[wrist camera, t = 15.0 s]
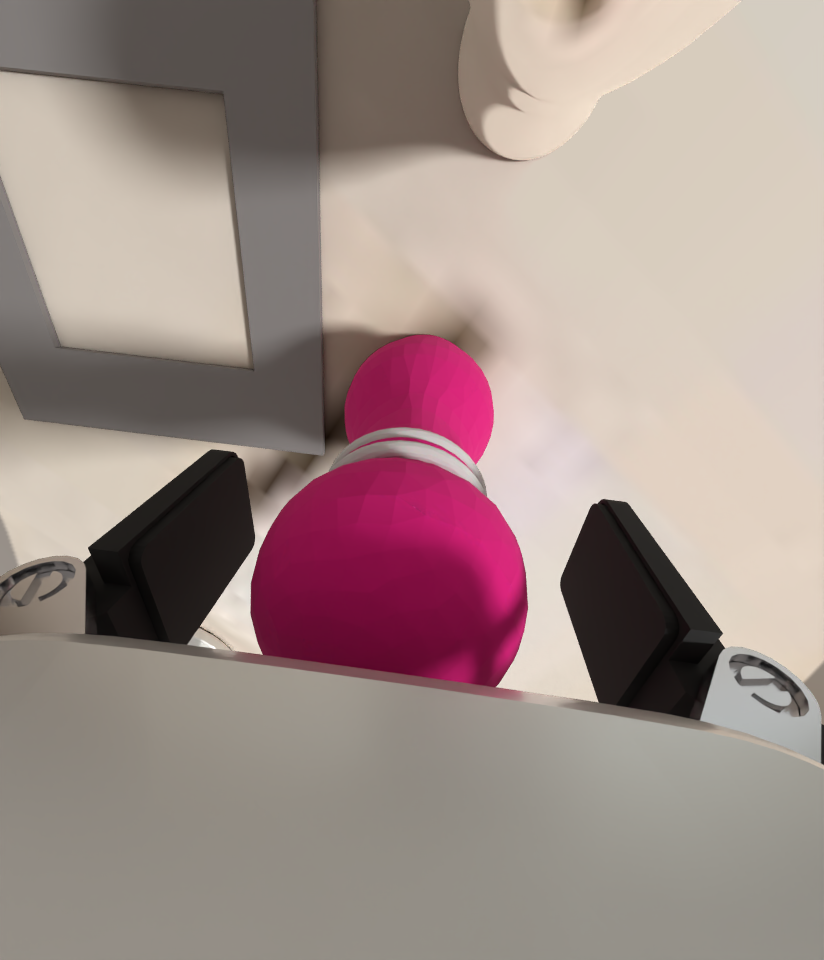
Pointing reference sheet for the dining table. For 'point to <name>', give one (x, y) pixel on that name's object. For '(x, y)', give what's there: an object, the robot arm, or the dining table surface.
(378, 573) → the pepper mill
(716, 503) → the dining table surface
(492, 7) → the beer glass
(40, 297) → the letter o mat
